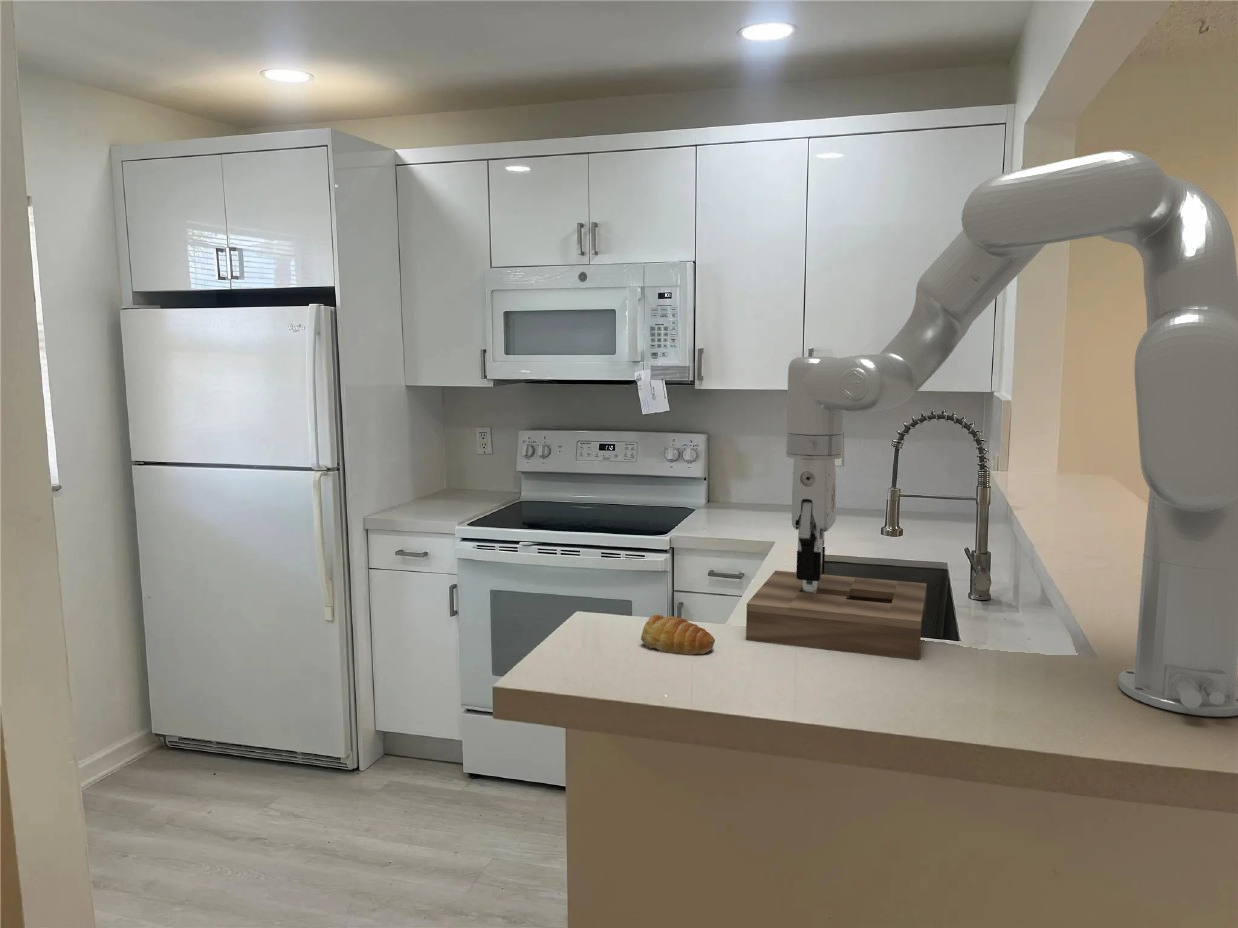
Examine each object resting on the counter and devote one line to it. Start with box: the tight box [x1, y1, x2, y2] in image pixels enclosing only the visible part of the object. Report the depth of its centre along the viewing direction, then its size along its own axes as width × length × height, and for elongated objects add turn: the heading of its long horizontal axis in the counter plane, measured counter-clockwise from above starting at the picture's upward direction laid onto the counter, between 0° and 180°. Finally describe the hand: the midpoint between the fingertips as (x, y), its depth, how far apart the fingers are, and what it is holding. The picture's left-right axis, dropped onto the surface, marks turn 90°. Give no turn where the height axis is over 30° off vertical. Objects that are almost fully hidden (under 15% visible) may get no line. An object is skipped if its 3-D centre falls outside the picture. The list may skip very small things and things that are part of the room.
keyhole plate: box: [745, 569, 927, 661], centre depth 124 cm, size 20×22×5 cm
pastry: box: [640, 613, 716, 656], centre depth 116 cm, size 9×7×4 cm
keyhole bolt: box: [802, 536, 824, 594], centre depth 125 cm, size 4×4×12 cm
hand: (810, 575), depth 125 cm, fingers closed on keyhole bolt, 3 cm apart
